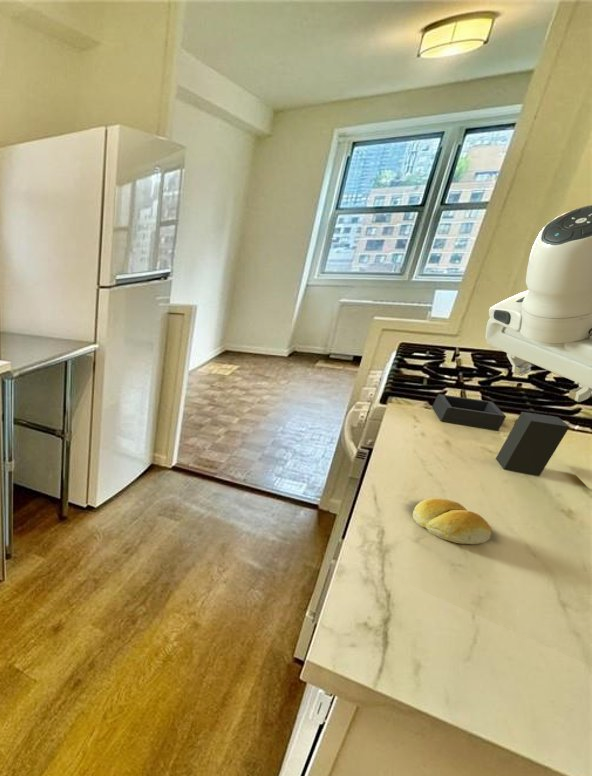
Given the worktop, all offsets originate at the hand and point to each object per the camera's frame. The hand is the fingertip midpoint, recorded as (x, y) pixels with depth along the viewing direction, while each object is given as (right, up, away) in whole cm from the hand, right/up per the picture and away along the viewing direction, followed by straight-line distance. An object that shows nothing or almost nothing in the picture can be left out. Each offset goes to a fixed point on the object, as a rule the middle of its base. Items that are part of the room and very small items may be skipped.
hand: (548, 384), depth 82 cm
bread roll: (-25, -23, -8) cm, 35 cm away
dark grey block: (+5, -14, +10) cm, 18 cm away
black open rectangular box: (+15, -4, +30) cm, 34 cm away
